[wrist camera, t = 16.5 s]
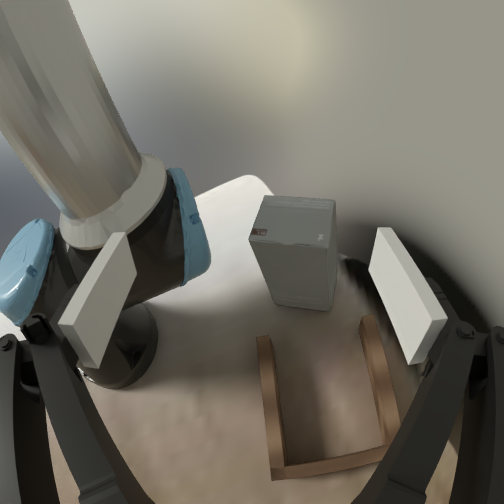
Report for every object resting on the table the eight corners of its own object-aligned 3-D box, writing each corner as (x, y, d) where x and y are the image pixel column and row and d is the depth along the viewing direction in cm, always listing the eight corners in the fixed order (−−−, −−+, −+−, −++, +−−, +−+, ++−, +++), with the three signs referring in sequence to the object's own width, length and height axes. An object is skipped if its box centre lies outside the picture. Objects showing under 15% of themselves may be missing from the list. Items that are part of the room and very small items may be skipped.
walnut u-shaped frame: (396, 452, 27) (405, 453, 24) (276, 477, 29) (271, 480, 25) (368, 326, 38) (373, 314, 35) (261, 347, 39) (256, 337, 36)
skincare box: (337, 274, 44) (341, 194, 31) (329, 319, 40) (333, 247, 27) (281, 266, 46) (264, 187, 34) (269, 309, 43) (245, 237, 30)
